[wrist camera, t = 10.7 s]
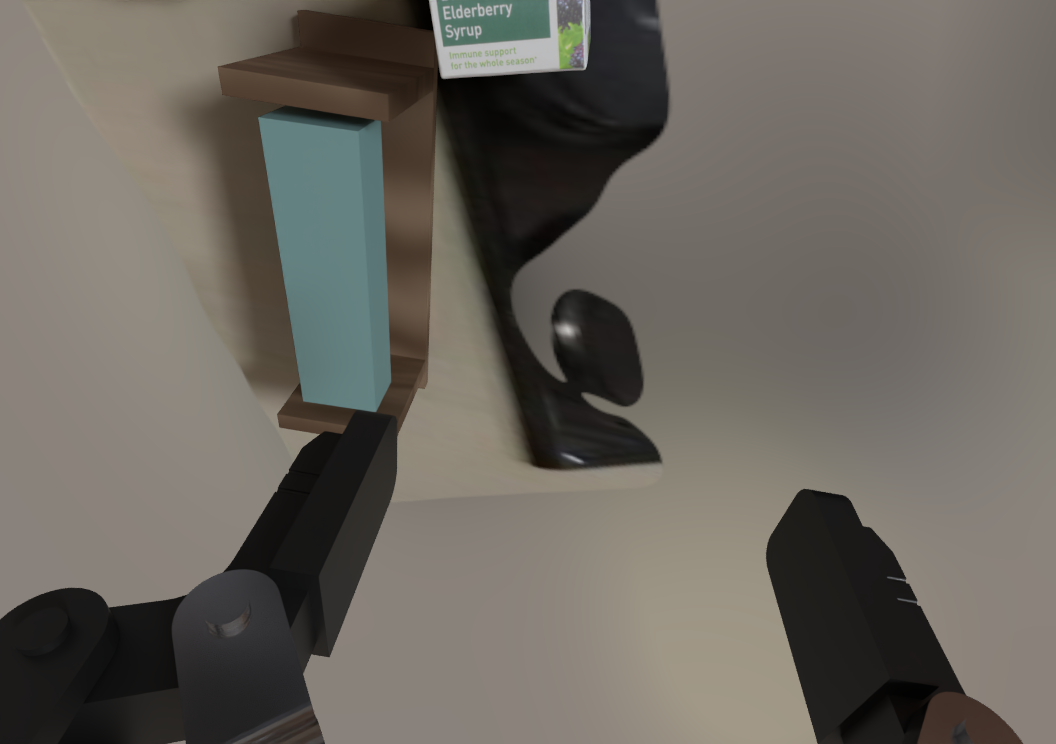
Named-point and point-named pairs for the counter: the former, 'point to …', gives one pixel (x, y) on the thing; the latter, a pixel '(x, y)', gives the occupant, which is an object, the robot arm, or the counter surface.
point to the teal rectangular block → (332, 250)
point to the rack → (408, 169)
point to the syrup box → (510, 36)
